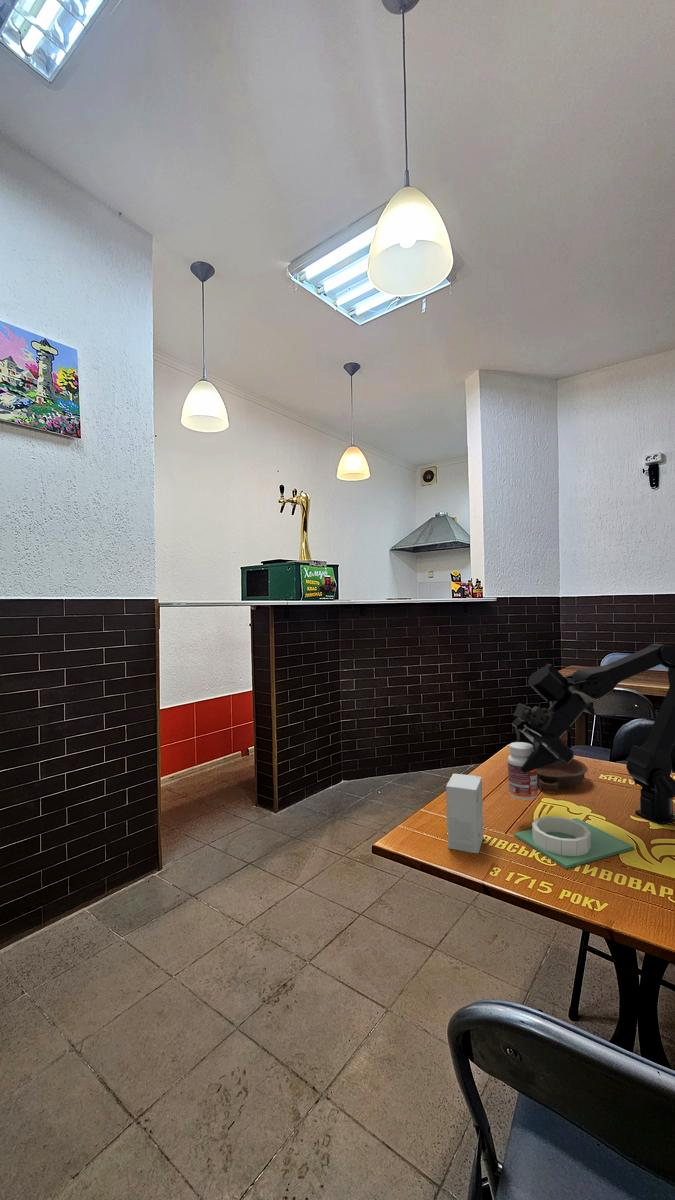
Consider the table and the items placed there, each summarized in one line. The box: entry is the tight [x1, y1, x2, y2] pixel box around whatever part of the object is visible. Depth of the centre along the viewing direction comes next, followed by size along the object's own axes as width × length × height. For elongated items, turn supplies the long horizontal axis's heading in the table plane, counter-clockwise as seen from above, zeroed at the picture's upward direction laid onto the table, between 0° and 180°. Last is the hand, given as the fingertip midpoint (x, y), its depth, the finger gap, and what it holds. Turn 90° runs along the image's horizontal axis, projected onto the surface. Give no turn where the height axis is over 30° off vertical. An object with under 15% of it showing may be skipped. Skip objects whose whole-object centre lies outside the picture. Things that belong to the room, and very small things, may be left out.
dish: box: [537, 757, 589, 791], centre depth 135 cm, size 18×22×5 cm
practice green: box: [513, 815, 635, 870], centre depth 101 cm, size 18×14×4 cm
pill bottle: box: [507, 741, 539, 801], centre depth 109 cm, size 6×6×11 cm
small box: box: [445, 773, 484, 854], centre depth 102 cm, size 8×6×13 cm
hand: (516, 766), depth 109 cm, fingers closed on pill bottle, 6 cm apart
